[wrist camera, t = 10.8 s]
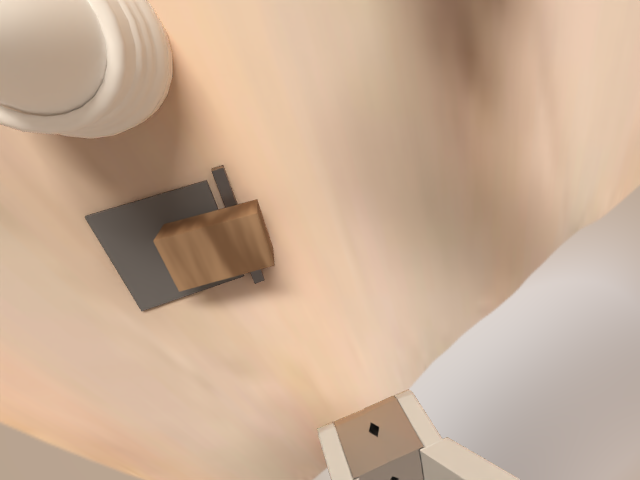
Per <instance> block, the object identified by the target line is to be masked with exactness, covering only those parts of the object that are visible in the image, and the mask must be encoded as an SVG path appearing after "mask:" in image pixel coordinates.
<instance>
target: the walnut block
mask: <svg viewBox="0 0 640 480" xmlns="http://www.w3.org/2000/svg"><path fill="white" fill-rule="evenodd" d="M153 242H154V244H155V246H156V248H157V250H158V252H159V253H160V255H161V257H162V259H163V261H164V263H165V265H166V267H167V269H168V271H169V273H170V275H171V277H172V279H173V281H174V283H175V285H176V287H177V288H178V290H179V292H180V291H184V290H187V289H191V288H195V287H198V286H202V285H206V284H209V283H213V282H216V281H220V280H224V279H227V278H231V277H235V276H238V275H242V274H245V273H249V272H253V271H256V270H260V269H264V268H267V267H271V266H274V254H273V246H272V243H271V240H270V237H269V234H268V231H267V228H266V225H265V222H264V219H263V216H262V213H261V210H260V207H259V204H258V201H257V200H253V201H249V202H246V203H242V204H238V205H234V206H231V207H227V208H223V209H219V210H215V211H212V212H208V213H204V214H200V215H197V216H193V217H189V218H185V219H182V220H178V221H174V222H170V223H166V224H164V225H163V226H162V228H161V229H160V231H159V233H158V234H157V236H156V237H155V239H154V241H153Z"/></svg>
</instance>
